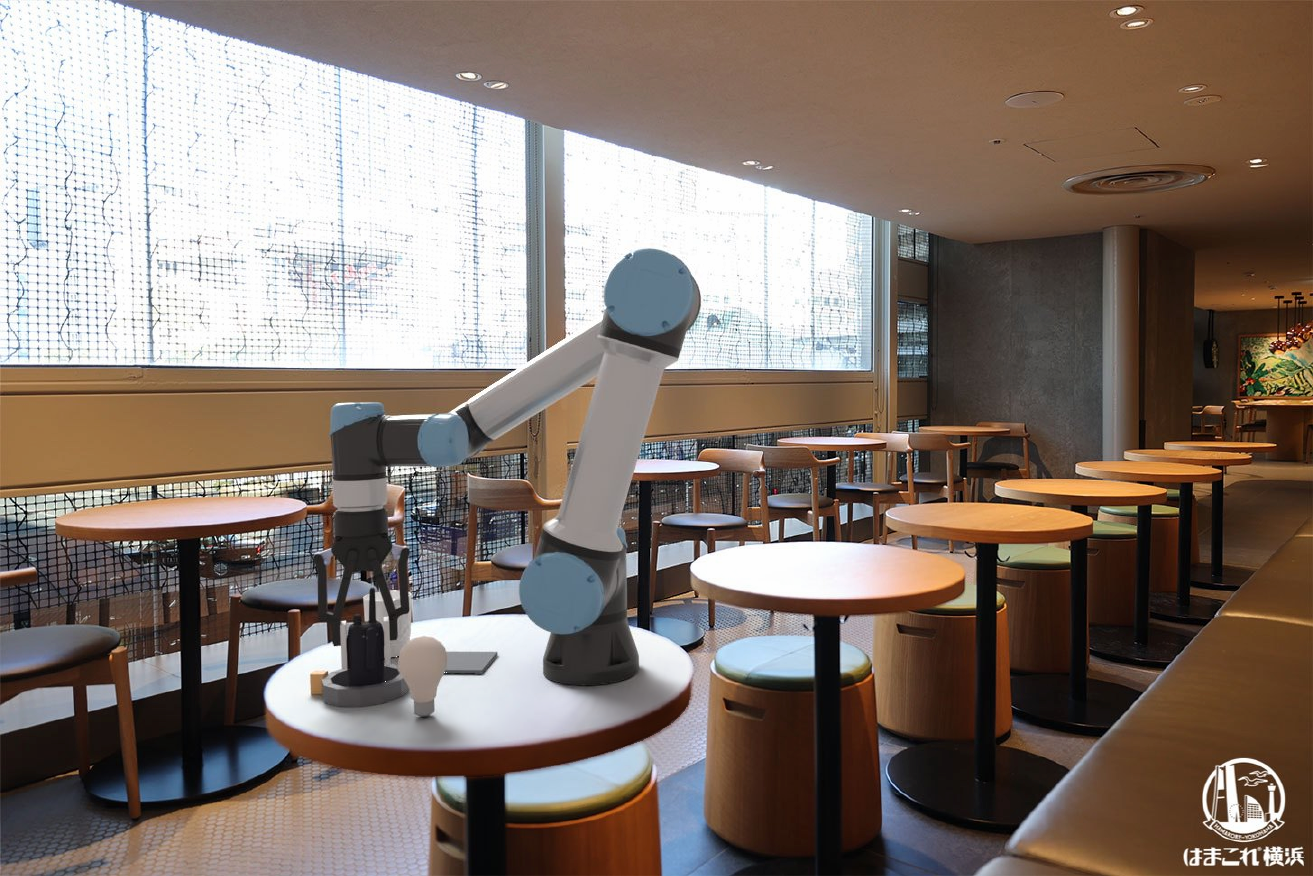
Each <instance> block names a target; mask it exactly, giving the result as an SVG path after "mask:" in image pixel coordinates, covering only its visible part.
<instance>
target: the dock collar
mask: <svg viewBox="0 0 1313 876" xmlns="http://www.w3.org/2000/svg"><path fill="white" fill-rule="evenodd" d="M309 677H310V678H309V679H310V682H309V683H310V695H321V698H322V697H323V698H322V700H323V703H324V702H325V703H324V704H327V703H329V704H328V705H330V704H331V705H330V706H335V707H337V708H339V707H340V708H362V707H368V706H374V705H375V706H376V705H380V704H386V703H388V702H391V701H394V700H396V699H395V698H397V699H399V698H402V697H403V696H404V695H405V694H406V693H407V692H408V691H409V690H410V689H409V687H408V685H407V683H406V682H405V680H404V678H403V677H402V675H401V674H400V670H399V666H398V664H394V663H391V665H385V663H384V682H383V683H381V684H375V685H369V686H362V687H348V672H347V669H345V670H342V668H340V669H338V670H334V671H331V672H329V670H314V671H313V672H310V674H309ZM385 681H386V682H385ZM408 689H409V690H408ZM407 690H408V691H407ZM406 691H407V692H406ZM405 692H406V693H405ZM404 693H405V694H404ZM393 699H394V700H393Z"/></svg>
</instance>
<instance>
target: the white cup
mask: <svg viewBox="0 0 1313 876" xmlns="http://www.w3.org/2000/svg"><path fill="white" fill-rule="evenodd" d="M390 593H391V596H392V599H393V602H394V605H395V607H397V606H399V605H400V591H399V589H398V590H397V589H396V590H391V589H390ZM408 594H409V609H410V610H409V613H407V614H403V615H401V616H399V617H398V619H397V628H398V637H397V640H392V641H390V657H395V658H397V657H396V656H399V655H400V651H401V650H402V648H403V647H404V645H405V644H406V643H408V642H409V641H411V634H412V633H411V632H412V627H411V626H412V601H413V600H412V598H413V597H412V595H413V594H412V592H410V591H408ZM362 598H363V600H362V601H363V612H364V622H365V621H369V593H368V594H366V595H364V596H362ZM375 601H376V620H377V621H379V622H380V623H381V624H382V626H383V630H384V617H388V613H387V610H386V607H385V604H384V601H383V598H382V596H381V593H380V591H375ZM384 658H385V645H384Z"/></svg>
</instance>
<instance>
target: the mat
mask: <svg viewBox="0 0 1313 876" xmlns="http://www.w3.org/2000/svg"><path fill="white" fill-rule="evenodd" d="M446 654H447V659H448V660H447V666H446V670H445V673H446V672H447V673H475V674H474V675H483V674H484V672H485V671H486V670H487V668H489V666H490V665H491V664H492V663H493V661H494V660H495V659H496V658H497V657H498V651H446ZM496 656H497V657H496ZM495 657H496V658H495ZM491 662H492V663H491ZM490 663H491V664H490ZM489 664H490V665H489ZM488 665H489V666H488Z"/></svg>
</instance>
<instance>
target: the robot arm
mask: <svg viewBox="0 0 1313 876" xmlns="http://www.w3.org/2000/svg"><path fill="white" fill-rule="evenodd" d="M603 302H604V307H603V310H602V314H601V316H599V317H597V318H596V319H594V320H592V321H591V322H589V323H587V324H586V325H585V326H583V327H582V328H580V329H578V330H576V331H575V332H573V333H572V334H570V335H569V336H567V337H566V338H564V339H562V340H561V341H559V342H557V344H555V345H553V346H552V347H550V348H548V349H547V350H545V351H543V352H542V353H540V354H539V355H537V356H536V357H534V358H532V359H531V360H530V361H529V360H528V362H526V363H525V364H523V365H522V366H521V365H520V367H518V368H517V369H515V370H514V371H512V372H511V373H509V374H507V375H506V376H504V377H503V378H501V379H499V380H498V381H496V382H495V383H492V385H489V386H488V387H487V388H485V389H484V390H482V391H481V392H479V393H477V394H476V395H474V396H473V397H471V398H469V399H468V400H467V401H466V402H465V401H464V402H463V403H461V404H460V405H458V406H457V407H456V408H454V409H452V410H451V411H449V412H446V413H431V414H428V413H427V414H405V415H392V414H391V415H390V414H386V412H385V405H384V404H383V403H382V402H379V401H377V402H374V401H373V402H372V401H371V402H340V403H336V404H334V405H333V406H332V407H331V409H330V427H329V428H330V432H329V433H328V434H329V435H328V436H329V437H330V447H331V449H330V450H331V451H330V452H331V465H332V469H331V470H332V480H331V482H332V483H331V485H332V505H333V507H335V508H337V510H334V512H333V532H334V534H333V535H334V537H333V538H334V541H333V542H332V545H331V547H330V548H328V549H325V550H322V551H315V552H314V554H313V558H312V560H313V563H314V565H315V567H316V570H317V620H318V622H321V623H323V622H324V623H328V624H330V626H331V639H332V646H333V647H340V655H341V656H340V661H341V663H340V664H341V669H342V670H345V669H347V635H348V631H347V620H342V616H343V611H344V609H345V608H344V607H345V604H346V599H347V596H348V592H349V588H350V585H351V580H352V577H353V574H354V573H359V572H362V571H363V572H373V576H374V577H375V580H376V584H377V587H378V589H379V592H380V593H381V596H382V598H383V601H384V604H385V607H386V610H387V613H388V617H384V645H385V659H384V664H385V665H391V664H392V662H391V658H390V641H392V640H397V637H398V628H397V619H398V617H399V616H401V615H403V614H407V613H409V610H410V609H409V594H408V592H409V583H408V581H409V580H408V567H407V565H408V564H407V563H408V560H409V557H410V554H411V550H410V547H409V546H408V545H399V544H395V543H393V542H392V540H391V538H390V535H389V513H388V512H389V511H388V509H387V508H386V507H385V506H384V505H387V504H388V488H387V487H388V486H387V485H388V482H387V478H388V477H387V467H388V468H393V467H410V468H411V467H419V468H420V467H424V468H425V467H427V468H429V467H433V468H437V469H438V468H445V467H453V466H454V467H455V466H459V465H461V464H462V463H463V461H465V460H469V459H471V458H473V457H476V456H477V455H479V453H481V452H482V451H483V450H484V449H485V448H486V446H488V445H490V444H491V443H492V442H494V441H495V440H497V439H498V438H500V437H502V436H503V435H505V434H506V433H508V432H509V431H511V430H513V429H514V428H516V427H518V426H519V425H521V424H522V423H524V422H526V421H528V420H529V419H531V418H533V417H534V416H535V415H537V414H538V413H540V412H542V411H543V410H545V409H547V408H548V407H550V406H552V405H553V404H555V403H556V402H558V401H560V400H561V399H563V398H565V397H566V396H568V395H570V394H571V393H573V392H574V391H576V390H578V389H579V388H581V387H582V386H584V385H586V384H588V383H589V382H590V381H592V380H594V379H596V380H595V383H594V387H593V391H592V394H591V398H590V401H589V406H588V408H587V412H586V415H585V419H584V422H583V426H582V430H581V434H580V436H579V440H578V444H577V447H576V451H575V454H574V457H573V460H572V464H571V467H570V470H569V475H568V477H567V478H568V479H567V481H566V485H565V488H564V492H563V496H562V500H561V501H560V502H561V503H560V506H559V509H558V513H557V515H556V516H555V517H553V518H552V519H549V520H547V521H546V522H544V524H543V526H542V529H541V533H540V537H539V540H538V542H537V546H536V550H535V554H534V557H533V559H532V560H531V561H529V563H528V564H527V566H526V567H525V569H524V570H523V573H522V574H521V578H520V581H519V584H518V585H519V586H518V594H519V600H520V604H521V607H522V609H523V611H524V613H525V614H526V615H527V617H528V618H529V620H530V621H531V622H532V623H533V624H534V625H535V626H537V627H539V628H540V629H541V630H544V631H545V632H548V633H550V634H549V637H548V641H547V644H546V647H545V650H544V655H543V657H542V673H543V675H544V677H546V678H547V679H548V680H551V681H553V682H556V683H561V684H566V685H576V686H597V685H606V684H612V683H617V682H621V681H625V680H628V679H630V678H632V677H633V676H635V675H637V673H638V672H639V670H640V655H639V652H638V649H637V646H636V643H635V640H634V637H633V634H632V631H631V627H630V625H629V621H628V590H627V589H628V587H627V586H628V583H627V579H628V578H627V577H628V576H627V575H628V574H627V549H628V543H627V540H626V538H627V537H626V532H625V530H624V529H623V528H622V527H620V526H619V523H620V520H621V518H622V513H623V510H624V507H625V502H626V500H627V496H628V492H629V491H630V490H629V489H630V486H631V483H632V479H633V477H634V473H635V469H636V465H637V462H638V459H639V456H640V453H641V449H642V445H643V442H644V439H645V436H646V431H647V428H648V425H649V422H650V418H651V415H652V411H653V408H654V405H655V401H656V397H657V393H658V390H659V388H660V384H661V381H662V377H663V373H664V371H665V370H666V369H667V367H670V366H671V365H673V364H675V363H677V362H678V361H679V359H680V358H679V357H680V354H681V351H682V347H683V345H684V342H685V339H686V335H687V332H688V331H690V329H691V328H693V326H694V325H695V323H696V321H697V319H698V317H699V315H700V311H701V307H702V296H701V291H700V287H699V284H698V283H697V281H696V279H695V277H694V276H693V275H692V273H691V271H690V269H689V267H688V266H687V265H686V264H685V263H684V261H683V260H682V259H681V258H679V257H677V256H676V255H675V254H672V253H669V252H667V251H664V250H661V249H659V248H651V247H650V248H639V249H636V250H633V251H630V252H629V253H627V254H625V255H623V256H622V257H621V258H619V260H617V262H615V263H614V265H613V266H612V267H611V268H610V270H609V272H608V274H607V276H606V279H605V282H604V288H603ZM391 552H392V553H393V558H394V560H396V561H397V575H398V588H399V589H398V590H399V591H400V605H399V606H397V607H395V605H394V602H393V599H392V596H391V593H390V591H391V589H390V587H389V584H388V581H387V579H386V575H385V572H384V568H383V566H382V564H383V563H384V561H385V560H386V558H387V557H388V555H389V554H390V553H391ZM333 556H334V557H335V558H336V560H337V561H338V562H339V563H340V565H342V567H344V568H343V572H342V576H341V581H340V584H339V588H338V592H337V596H336V599H335V604H334V607H333V612H332V611H331V612H330V611H329V610H328V609H329V608H328V607H329V606H328V597H329V595H328V586H329V585H328V566H329V565H330V564H331V562H332V561H331V560H332V559H331V558H332V557H333Z"/></svg>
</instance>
